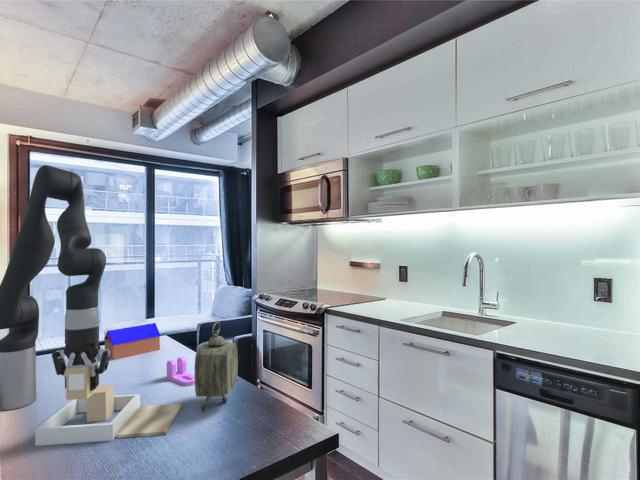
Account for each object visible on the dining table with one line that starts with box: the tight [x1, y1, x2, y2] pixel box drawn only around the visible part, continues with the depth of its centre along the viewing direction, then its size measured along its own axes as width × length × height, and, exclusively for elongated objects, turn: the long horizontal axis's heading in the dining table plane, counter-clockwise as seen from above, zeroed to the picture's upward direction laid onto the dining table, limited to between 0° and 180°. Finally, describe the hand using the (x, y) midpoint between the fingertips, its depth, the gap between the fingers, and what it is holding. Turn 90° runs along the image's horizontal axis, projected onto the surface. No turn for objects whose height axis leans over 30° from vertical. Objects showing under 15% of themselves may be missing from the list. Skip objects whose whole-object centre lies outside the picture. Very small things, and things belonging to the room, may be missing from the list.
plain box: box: [86, 384, 115, 423], centre depth 104 cm, size 5×5×8 cm
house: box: [103, 322, 161, 361], centre depth 163 cm, size 12×20×12 cm, turn 136°
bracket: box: [166, 356, 195, 387], centre depth 130 cm, size 13×6×7 cm, turn 54°
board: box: [116, 403, 183, 439], centre depth 101 cm, size 12×16×1 cm
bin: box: [34, 393, 141, 447], centre depth 99 cm, size 18×18×4 cm
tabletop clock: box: [194, 320, 239, 411], centre depth 112 cm, size 14×9×25 cm, turn 178°
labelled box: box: [65, 362, 97, 401], centre depth 95 cm, size 5×5×8 cm
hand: (82, 389), depth 95 cm, fingers closed on labelled box, 5 cm apart
